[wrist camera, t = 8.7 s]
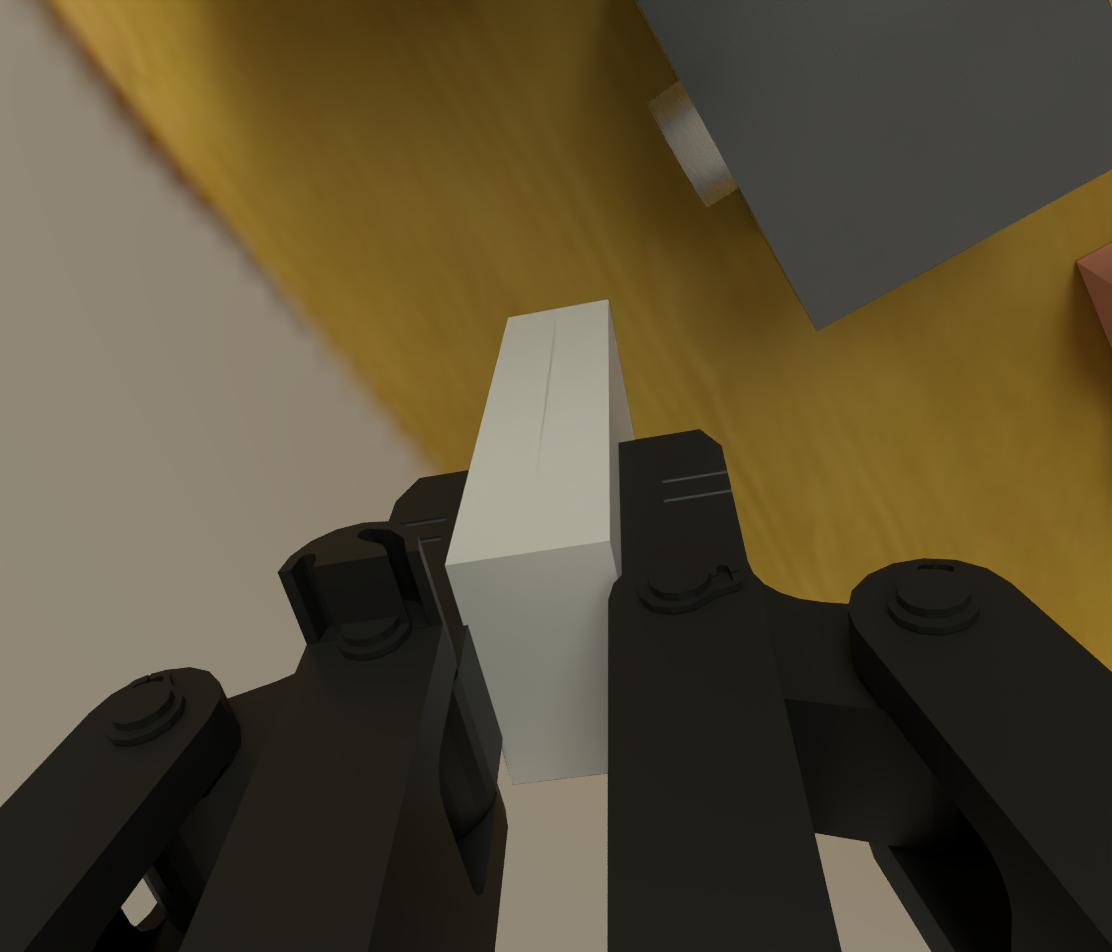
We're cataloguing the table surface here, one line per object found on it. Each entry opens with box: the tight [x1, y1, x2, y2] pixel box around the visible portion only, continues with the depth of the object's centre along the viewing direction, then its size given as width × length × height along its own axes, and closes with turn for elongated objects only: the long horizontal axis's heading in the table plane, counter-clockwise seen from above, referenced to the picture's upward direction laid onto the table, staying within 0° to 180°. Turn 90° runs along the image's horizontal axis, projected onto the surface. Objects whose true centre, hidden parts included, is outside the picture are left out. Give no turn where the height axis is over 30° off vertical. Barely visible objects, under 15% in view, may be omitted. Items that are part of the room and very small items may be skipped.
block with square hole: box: [634, 0, 1112, 331], centre depth 25 cm, size 9×8×9 cm
